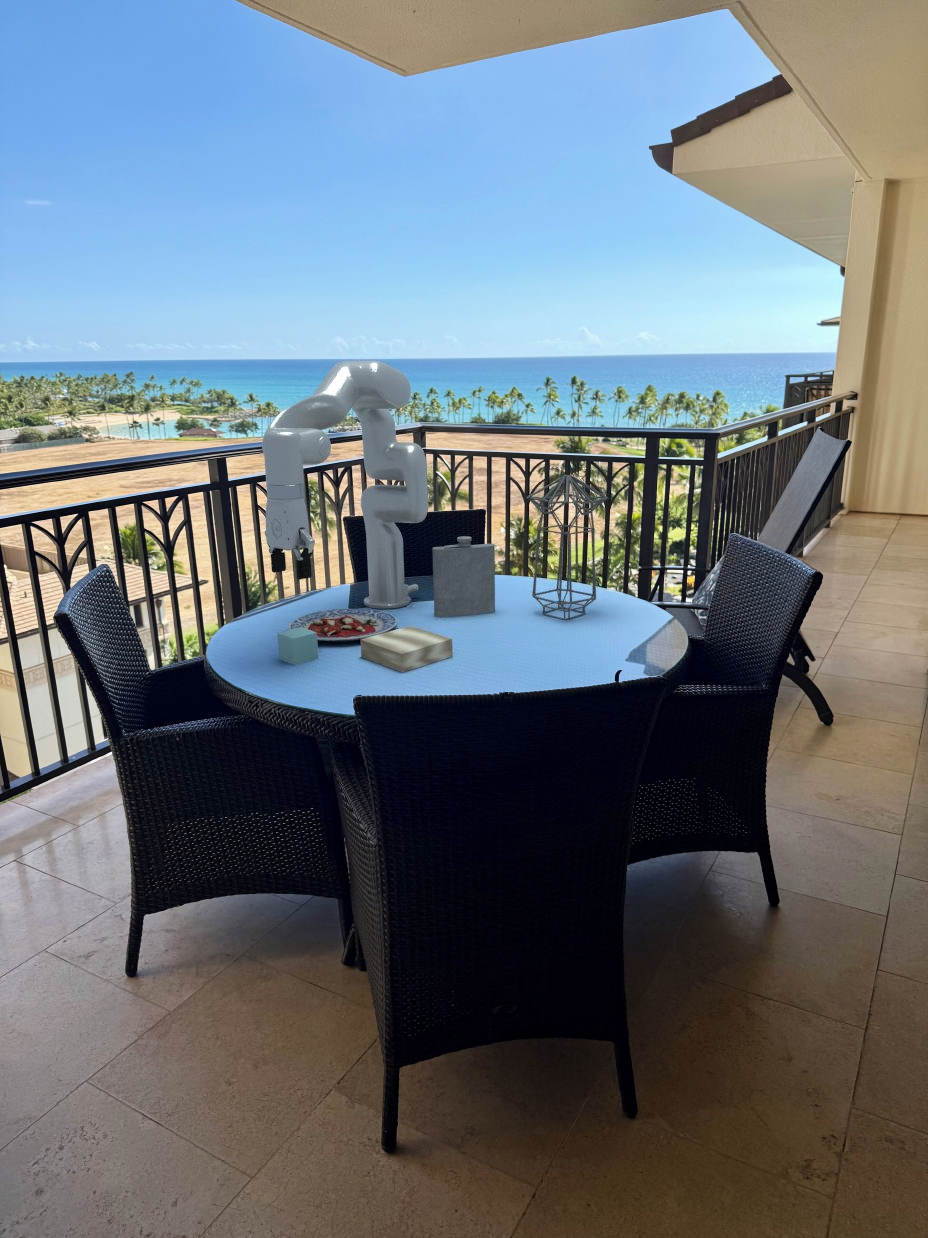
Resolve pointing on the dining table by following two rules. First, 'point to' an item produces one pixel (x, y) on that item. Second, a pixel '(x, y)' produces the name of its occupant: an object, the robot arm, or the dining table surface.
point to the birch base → (406, 648)
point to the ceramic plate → (346, 624)
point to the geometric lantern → (577, 489)
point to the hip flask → (464, 579)
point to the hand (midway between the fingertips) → (291, 574)
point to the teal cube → (297, 646)
